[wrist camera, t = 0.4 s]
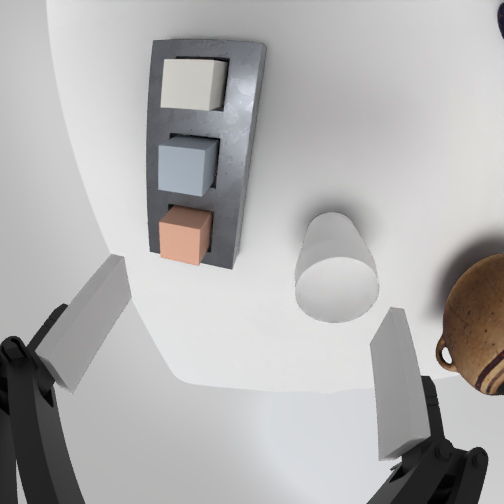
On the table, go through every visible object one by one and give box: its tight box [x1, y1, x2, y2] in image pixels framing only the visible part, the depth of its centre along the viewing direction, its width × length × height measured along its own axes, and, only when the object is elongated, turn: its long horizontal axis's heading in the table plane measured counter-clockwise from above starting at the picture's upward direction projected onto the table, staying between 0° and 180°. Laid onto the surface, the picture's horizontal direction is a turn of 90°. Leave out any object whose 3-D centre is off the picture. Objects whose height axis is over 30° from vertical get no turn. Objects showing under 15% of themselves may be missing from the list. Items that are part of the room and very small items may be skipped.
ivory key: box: [161, 59, 228, 111], centre depth 26 cm, size 5×5×5 cm
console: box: [146, 39, 267, 269], centre depth 34 cm, size 28×12×4 cm, turn 172°
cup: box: [295, 212, 379, 323], centre depth 34 cm, size 9×9×12 cm
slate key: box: [158, 135, 219, 197], centre depth 31 cm, size 5×5×5 cm
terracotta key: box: [159, 205, 212, 266], centre depth 36 cm, size 5×5×5 cm
